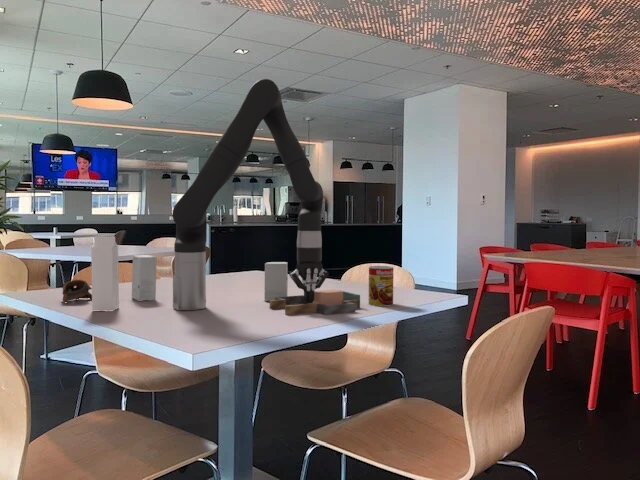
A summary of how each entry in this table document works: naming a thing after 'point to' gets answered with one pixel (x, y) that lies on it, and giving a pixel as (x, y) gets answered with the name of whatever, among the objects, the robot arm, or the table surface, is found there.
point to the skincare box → (144, 277)
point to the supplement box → (276, 280)
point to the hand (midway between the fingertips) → (309, 302)
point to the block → (328, 297)
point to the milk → (105, 273)
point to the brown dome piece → (76, 290)
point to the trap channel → (316, 305)
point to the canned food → (380, 285)
